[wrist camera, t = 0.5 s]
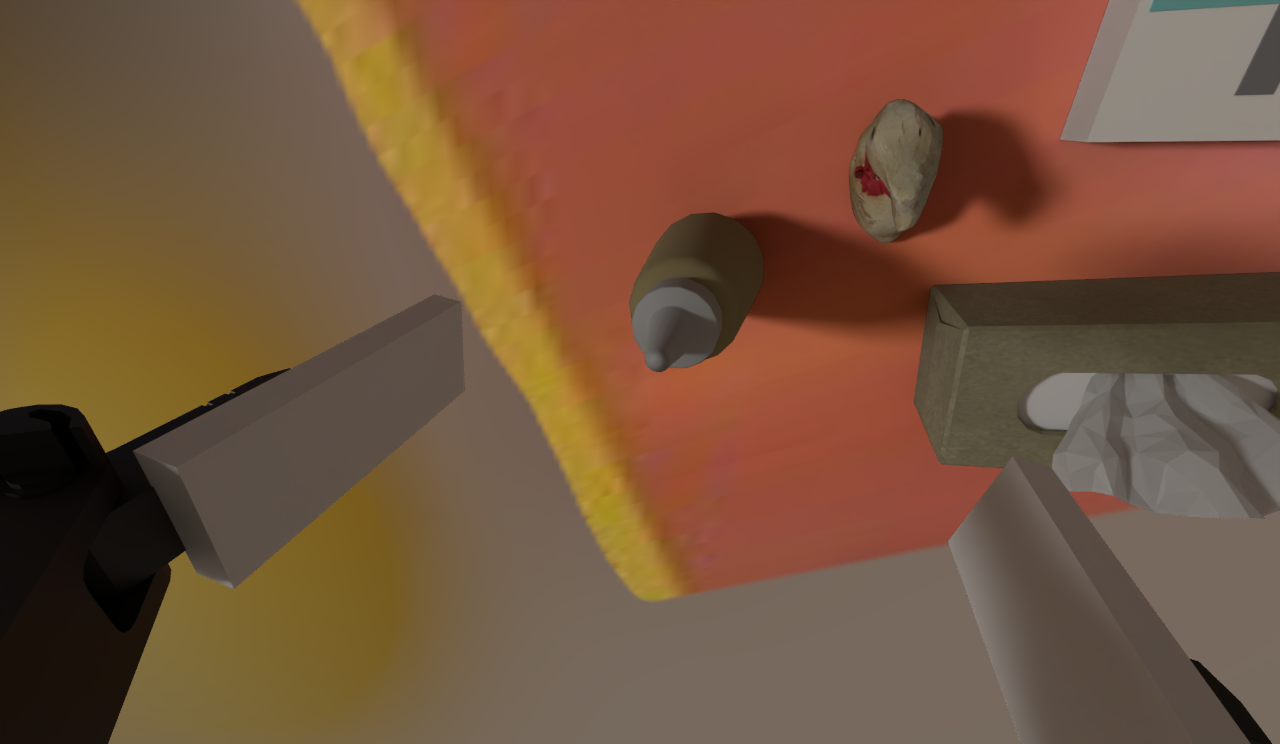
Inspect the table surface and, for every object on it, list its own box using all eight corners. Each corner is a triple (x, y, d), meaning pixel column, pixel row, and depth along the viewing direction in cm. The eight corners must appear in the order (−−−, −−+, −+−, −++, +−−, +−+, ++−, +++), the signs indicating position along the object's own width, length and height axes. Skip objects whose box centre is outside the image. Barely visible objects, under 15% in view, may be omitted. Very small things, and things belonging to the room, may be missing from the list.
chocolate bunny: (962, 120, 29) (1032, 122, 20) (897, 245, 33) (934, 290, 24) (871, 97, 29) (902, 91, 21) (819, 222, 34) (828, 259, 25)
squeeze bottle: (667, 196, 36) (574, 259, 20) (777, 210, 34) (765, 290, 19) (657, 298, 40) (573, 414, 24) (755, 315, 38) (731, 450, 23)
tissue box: (908, 402, 38) (971, 559, 25) (925, 284, 34) (1012, 397, 20) (1219, 410, 32) (1518, 620, 19) (1286, 270, 28) (1736, 414, 15)
